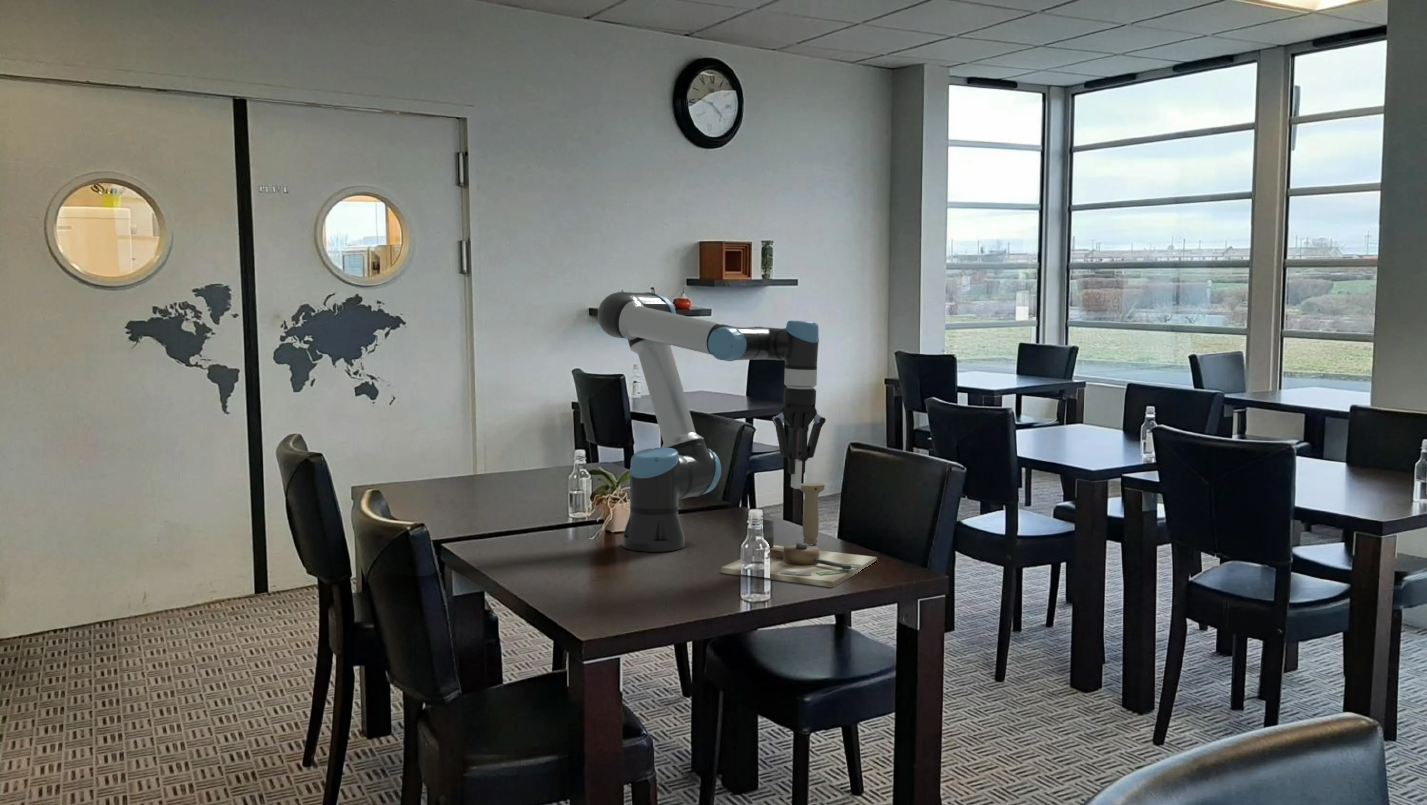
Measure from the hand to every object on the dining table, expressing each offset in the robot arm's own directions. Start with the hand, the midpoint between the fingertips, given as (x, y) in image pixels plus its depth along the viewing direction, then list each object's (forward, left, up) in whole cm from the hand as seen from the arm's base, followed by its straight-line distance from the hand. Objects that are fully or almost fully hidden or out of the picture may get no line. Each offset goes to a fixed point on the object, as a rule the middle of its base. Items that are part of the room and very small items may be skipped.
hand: (795, 487), depth 260 cm
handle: (-2, +15, -16) cm, 22 cm away
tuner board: (+6, -10, -16) cm, 20 cm away
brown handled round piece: (+7, -11, -15) cm, 20 cm away
